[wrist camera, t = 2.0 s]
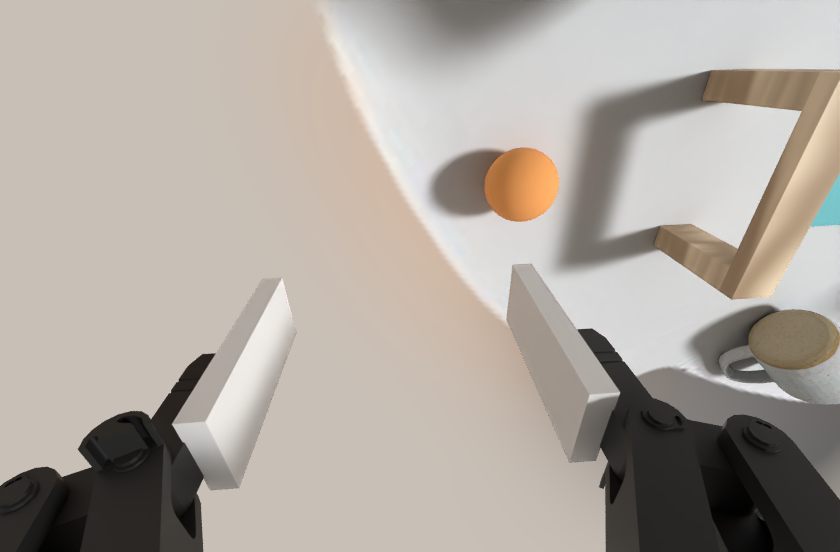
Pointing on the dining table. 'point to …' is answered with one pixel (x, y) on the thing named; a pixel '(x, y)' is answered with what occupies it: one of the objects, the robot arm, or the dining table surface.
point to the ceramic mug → (792, 355)
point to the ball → (521, 184)
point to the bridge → (787, 189)
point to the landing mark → (830, 207)
